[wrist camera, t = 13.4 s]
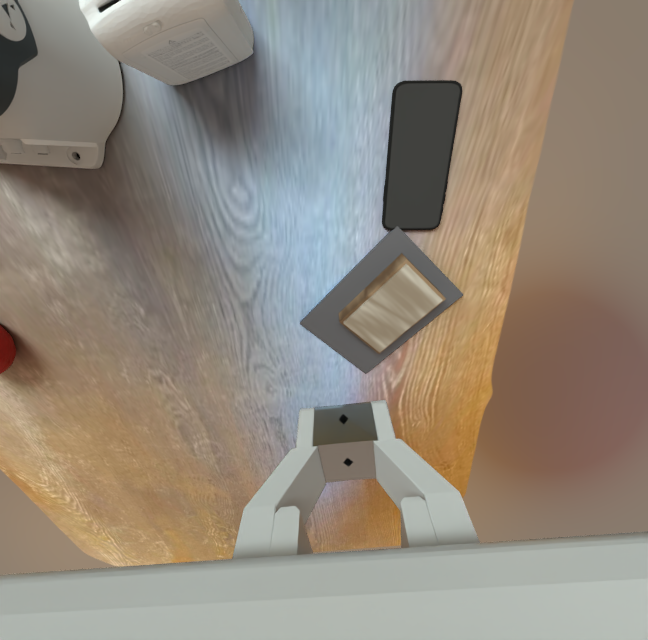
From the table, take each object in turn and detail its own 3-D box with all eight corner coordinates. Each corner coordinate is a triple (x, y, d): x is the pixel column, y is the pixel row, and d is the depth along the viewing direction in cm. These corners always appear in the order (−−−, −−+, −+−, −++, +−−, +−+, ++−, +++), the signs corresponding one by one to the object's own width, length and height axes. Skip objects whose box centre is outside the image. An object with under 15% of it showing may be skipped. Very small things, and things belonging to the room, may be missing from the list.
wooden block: (379, 355, 43) (447, 300, 38) (339, 323, 40) (407, 260, 36) (376, 344, 45) (439, 290, 41) (338, 313, 43) (401, 253, 39)
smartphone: (465, 79, 30) (440, 230, 37) (462, 81, 31) (437, 228, 38) (393, 80, 30) (381, 230, 37) (391, 82, 31) (380, 229, 38)
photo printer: (244, -1, 28) (192, -103, 17) (262, 56, 30) (226, -2, 19) (148, 41, 29) (42, -28, 18) (171, 93, 31) (88, 59, 20)
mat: (365, 371, 49) (365, 373, 48) (300, 321, 44) (300, 323, 44) (461, 293, 42) (463, 294, 41) (396, 224, 37) (397, 225, 37)
